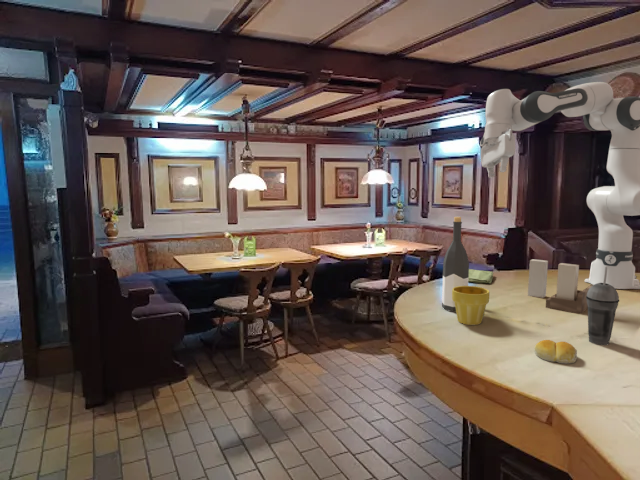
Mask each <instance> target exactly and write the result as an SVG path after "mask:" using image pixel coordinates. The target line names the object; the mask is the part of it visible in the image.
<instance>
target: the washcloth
mask: <svg viewBox="0 0 640 480" xmlns="http://www.w3.org/2000/svg"><path fill="white" fill-rule="evenodd" d="M493 279H494V272H493V271H489V270H482V269H481V270H478V269H472V268H471V269H470V268H469V278H468V283H472V284H473V283H475V284H486V285H491V284H492V281H493Z"/></svg>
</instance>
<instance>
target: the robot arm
mask: <svg viewBox="0 0 640 480" xmlns="http://www.w3.org/2000/svg"><path fill="white" fill-rule="evenodd" d="M557 112H561V113H562V115H564V116H565V117H567V118H575V117H576V118H577V117H582V120H583V124H584V127H585V128H586V129H587V130H589V131H592V132H600V131H610V132H611V133H610V134H611V139H610V143H609V148H608V154H607V161H606V171H607V173H608V174H610V175H611V176H612V178H613V179H614V180H613V181H614V185H611V186H610V185H603V186H599V187H596V188H593V189H591V190H590V191H589V192H588V193H587V196H586V205H587V207H588V208H589V210H591V212H592V213H593V214H594V217H595V219H596V222H597V226H598V245H597V247H598V248H596V252H595V255H596V256H595V258H596V259H594V260H592V261H591V264H590V270H589V277H588V278H585V279H584V282H585V283H589V284H590V285H595V284H597V283H603V281H604V273H605V267H607V276H606V283H607V284H609V285H611V286H613V287H614V288H615V289H618V290H619V289H620V290H628V289H629V290H630V289H633V290H640V280H639V279H637V278H638V276H637V275H635V274H636V266H635V265H634V263H633V262H632V260H633V256H634V255H633V251H632V248H633V237H634V232H633V229H632V228H631V227H630V226H629V225H627V223H626V221H625V218H624V216H628V217H629V216H631V217H633V216H640V97H638V96H625V97H618V98H614V90H613V88H612V86H611V85H610V84H609V83H607V82H605V81H604V82H603V81H595V82H594V81H593V82H586V83H581V84H577V85H574V86H571V87H569V88H567V89H565V90H563V91H557V92H548V91H545V90H544V91H543V90H537V91H533V92H531V93H530V94H528V95H527V96H526V97H524V98H522V99H521V100H520V99H519V98H517V97H516V96H515V95H514V94H513V92H512V91H511V89H509V88H500V89H497V90H494V91H493V92H491V93H490V94H489V95H488V96H487V98H486V102H485V120H486V121H485V122H486V123H485V126H484V133H483V136H482V138H481V140H480V143H479V146H480V147H481V149H480V160H481V161H480V163H481V167H482V168H486V170H487V173H488V174H487V175H488V178H489V179H492V178H494V177H496V175H495V174H496V172H495V170H494V169H495V166H497V165H498V164H500V166H499V173H505V172H507V166H508V164H509V160H510V159H509V158H511V157H513V156H515V154H516V138H515V135H514V134H513V132H521V131H524V130H526V129H529V128H530V127H533V126H535V125H537V124H539V123H542V122H544V121H546V120H549V119H550V118H551V117H552V116H553V115H554V114H555V113H557Z"/></svg>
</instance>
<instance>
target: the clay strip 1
mask: <svg viewBox="0 0 640 480" xmlns="http://www.w3.org/2000/svg"><path fill="white" fill-rule="evenodd" d="M528 266H529V270H528V283H527V284H528V285H527V288H528V289H527V296H529V297H534V298H535V297H536V298H542V299H544V298H545V297H546V296H547V285H548V283H547V282H548V269H549V268H548V267H549V260H545V259H544V260H543V259H536V258H535V259H533V258H532V259H530V260H529V265H528Z"/></svg>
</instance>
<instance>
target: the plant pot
mask: <svg viewBox="0 0 640 480" xmlns="http://www.w3.org/2000/svg"><path fill="white" fill-rule="evenodd" d="M452 300H453V301H454V302H455V307H456V311H455V312H456V317H457V322H459V323H461V324H462V323H463V324H462V325H468V326H476V325H480V324H481V323H483V322H482V321H483V318H484V315H485V310H486V307H487V305H488V304H489V301H490V290H489V289H487V288H484V287H481V286H476V285H475V286H474V285H468V286H458V287H454V288H453V289H452Z"/></svg>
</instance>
